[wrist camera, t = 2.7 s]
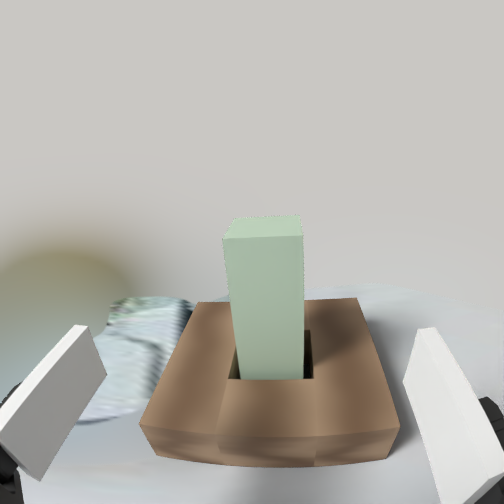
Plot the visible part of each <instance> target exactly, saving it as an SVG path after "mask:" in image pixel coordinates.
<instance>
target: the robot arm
mask: <svg viewBox="0 0 504 504" xmlns="http://www.w3.org/2000/svg"><path fill="white" fill-rule="evenodd" d="M106 376H107V373H106V370H105V368H104V366H103V363H102V361H101V359H100V356H99V354H98V351H97V349H96V346H95V343H94V341H93V338H92V336H91V333H90V330H89V328H88V326H80V325H75V326H74V327H73V328H72V329H71V330H70V331H69V332H68V333H67V334H66V335H65V336H64V337H63V338H62V339H61V340H60V341H59V342H58V344H57V345H56V346H55V347H54V348H53V349H52V350H51V351H50V352H49V353H48V354H47V355H46V356H45V357H44V359H43V360H42V361H41V362H40V363H39V364H38V365H37V366H36V367H35V369H34V370H33V371H32V372H31V373H30V374H29V375H28V376H27V378H26V379H25V380H24V381H22V382H21V383H19V384H18V385H16V386H15V387H14V388H13V389H12V390H11V391H10V392H9V394H8V395H7V397H5V398H4V399H3V401H2V403H0V504H24V500H23V494H22V488H21V481H20V475H19V472H18V471H17V469H16V468H17V467H18V466H19V467H20V468H21V469H22V470H23V471H24V472H25V473H26V474H27V475H29V476H31V477H32V478H34V479H36V480H38V481H41V479H42V478H43V476H44V474H45V473H46V471H47V469H48V467H49V466H50V464H51V462H52V461H53V459H54V457H55V456H56V454H57V452H58V451H59V449H60V447H61V446H62V444H63V442H64V441H65V439H66V438H67V436H68V435H69V433H70V431H71V430H72V428H73V427H74V425H75V423H76V422H77V420H78V419H79V417H80V415H81V414H82V412H83V411H84V409H85V408H86V406H87V405H88V403H89V402H90V400H91V398H92V397H93V395H94V394H95V392H96V391H97V389H98V388H99V386H100V385H101V383H102V382H103V380H104V379H105V377H106ZM403 384H404V387H405V390H406V393H407V395H408V398H409V401H410V404H411V406H412V409H413V412H414V415H415V418H416V421H417V424H418V427H419V430H420V433H421V436H422V439H423V442H424V445H425V449H426V452H427V455H428V458H429V462H430V465H431V469H432V472H433V476H434V480H435V483H436V487H437V491H438V495H439V499H440V503H441V504H504V416H503V414H502V413H501V411H500V409H499V407H498V405H496V404H495V403H494V402H493V401H492V400H491V399H490V398H488V397H484V398H481V399H477V397H476V395H475V393H474V391H473V389H472V388H471V386H470V384H469V382H468V380H467V379H466V377H465V375H464V373H463V372H462V370H461V368H460V367H459V365H458V363H457V362H456V360H455V358H454V357H453V355H452V353H451V352H450V350H449V349H448V347H447V345H446V344H445V342H444V341H443V339H442V337H441V336H440V334H439V333H438V331H437V330H436V328H435V327H432V328H423V329H418V330H417V334H416V338H415V342H414V345H413V349H412V353H411V356H410V360H409V363H408V366H407V370H406V373H405V376H404V379H403Z"/></svg>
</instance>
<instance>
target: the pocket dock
mask: <svg viewBox="0 0 504 504" xmlns="http://www.w3.org/2000/svg"><path fill="white" fill-rule="evenodd" d="M305 364H309V371H310V379H290V380H244V379H241V377H240V370H239V363H238V356H237V349H236V342H235V335H234V328H233V320H232V313H231V305H230V302H198V303H197V305H196V307H195V309H194V311H193V313H192V315H191V317H190V319H189V321H188V323H187V325H186V327H185V329H184V331H183V333H182V335H181V337H180V339H179V341H178V343H177V345H176V347H175V349H174V351H173V353H172V355H171V357H170V359H169V362H168V364H167V366H166V368H165V370H164V372H163V374H162V376H161V378H160V380H159V382H158V384H157V386H156V388H155V390H154V393H153V395H152V397H151V399H150V401H149V403H148V405H147V407H146V409H145V411H144V414H143V416H142V418H141V420H140V422H139V425H140V427H141V429H142V431H143V432H144V434H145V436H146V438H147V440H148V441H149V443H150V445H151V447H152V448H153V450H154V452H155V453H156V455H158V456H163V457H168V458H174V459H180V460H187V461H194V462H201V463H210V464H220V465H231V466H246V467H317V466H332V465H343V464H353V463H361V462H368V461H375V460H382V459H386V457H387V455H388V453H389V451H390V449H391V447H392V445H393V443H394V440H395V438H396V436H397V434H398V431H399V429H400V427H401V426H400V423H399V419H398V416H397V413H396V409H395V406H394V403H393V400H392V396H391V393H390V390H389V387H388V384H387V381H386V378H385V375H384V372H383V369H382V366H381V363H380V360H379V357H378V354H377V351H376V348H375V345H374V343H373V340H372V337H371V334H370V332H369V329H368V326H367V324H366V321H365V318H364V316H363V313H362V310H361V308H360V305H359V303H358V300H357V298H342V299H322V300H304V363H303V365H305Z"/></svg>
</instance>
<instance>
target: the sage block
mask: <svg viewBox="0 0 504 504" xmlns="http://www.w3.org/2000/svg"><path fill="white" fill-rule="evenodd" d="M222 241H223V249H224V258H225V266H226V274H227V282H228V290H229V298H230V305H231V313H232V320H233V328H234V335H235V342H236V349H237V356H238V363H239V370H240V377H241V379H244V380H290V379H303V363H304V252H303V233H302V226H301V221H300V216H299V215H294V216H271V217H253V218H252V217H251V218H235V219H234V220H233V222H232V224H231V225H230V227H229V229H228V230H227V232H226V233H225V235H224V237H223V239H222Z"/></svg>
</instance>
